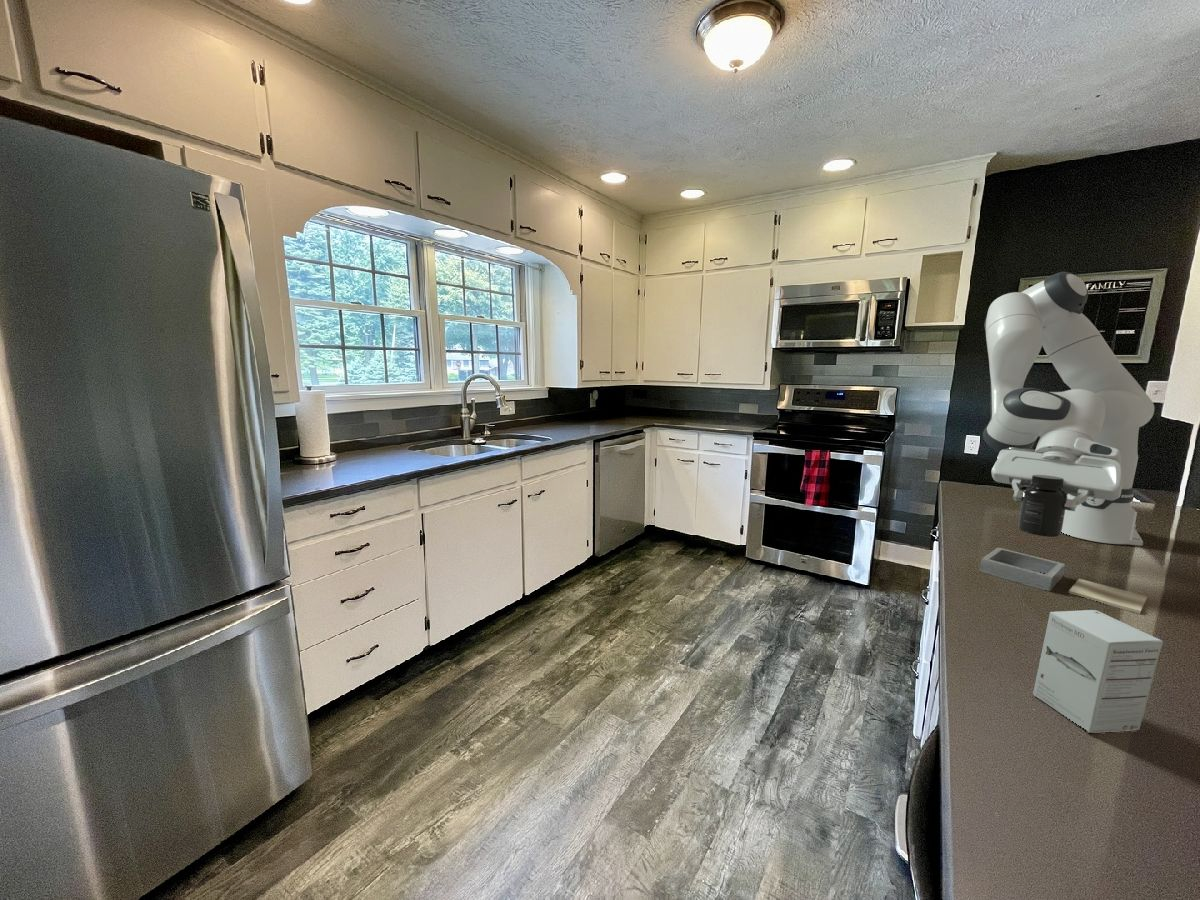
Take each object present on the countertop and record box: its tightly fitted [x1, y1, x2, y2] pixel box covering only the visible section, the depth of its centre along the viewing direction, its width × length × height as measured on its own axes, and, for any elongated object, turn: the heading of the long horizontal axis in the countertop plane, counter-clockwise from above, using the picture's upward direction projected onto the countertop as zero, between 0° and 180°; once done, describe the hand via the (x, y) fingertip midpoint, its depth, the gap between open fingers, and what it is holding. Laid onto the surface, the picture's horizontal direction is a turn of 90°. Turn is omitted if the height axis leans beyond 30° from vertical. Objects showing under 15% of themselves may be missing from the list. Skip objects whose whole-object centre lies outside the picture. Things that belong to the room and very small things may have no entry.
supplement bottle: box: [1017, 475, 1068, 538], centre depth 100 cm, size 7×7×12 cm
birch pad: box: [1067, 578, 1148, 615], centre depth 94 cm, size 10×10×1 cm
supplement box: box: [1032, 609, 1164, 732], centre depth 61 cm, size 7×7×13 cm
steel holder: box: [979, 546, 1066, 592], centre depth 104 cm, size 12×12×3 cm
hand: (1042, 504), depth 99 cm, fingers closed on supplement bottle, 7 cm apart
